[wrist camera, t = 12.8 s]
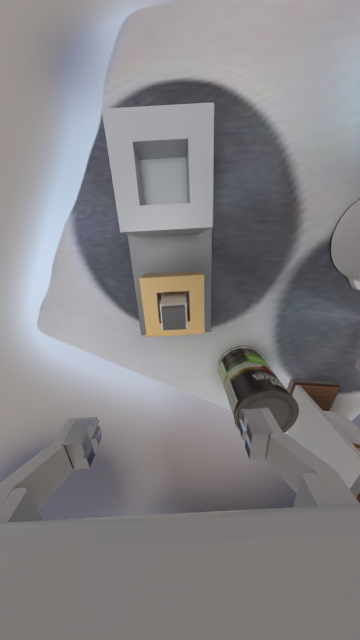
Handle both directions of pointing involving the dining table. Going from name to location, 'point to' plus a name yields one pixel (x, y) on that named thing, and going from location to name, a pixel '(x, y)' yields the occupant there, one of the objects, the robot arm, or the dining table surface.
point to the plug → (173, 311)
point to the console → (165, 205)
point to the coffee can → (255, 386)
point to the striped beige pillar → (326, 430)
